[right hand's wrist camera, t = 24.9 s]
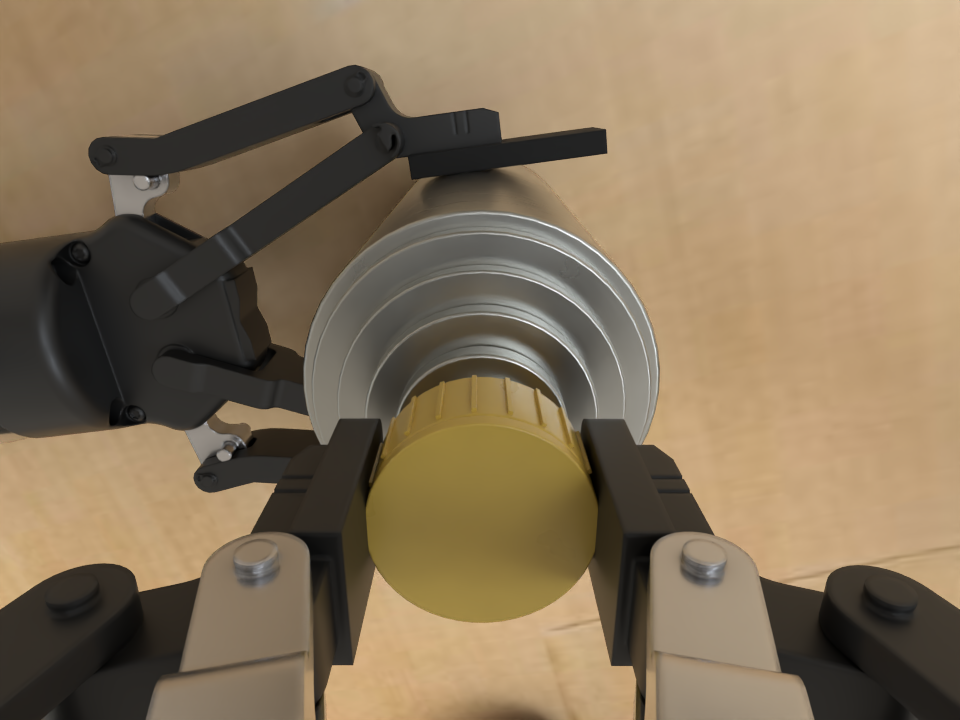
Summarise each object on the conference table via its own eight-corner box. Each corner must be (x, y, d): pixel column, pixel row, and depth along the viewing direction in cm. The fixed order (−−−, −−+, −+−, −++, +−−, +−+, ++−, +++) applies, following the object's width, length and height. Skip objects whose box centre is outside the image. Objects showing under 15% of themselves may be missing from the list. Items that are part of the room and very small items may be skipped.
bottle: (553, 345, 32) (667, 717, 13) (383, 322, 32) (227, 672, 12) (587, 169, 29) (804, 300, 10) (399, 142, 29) (226, 221, 9)
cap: (338, 492, 12) (314, 555, 11) (452, 331, 11) (448, 372, 9) (505, 586, 13) (509, 660, 11) (628, 445, 12) (654, 503, 10)
